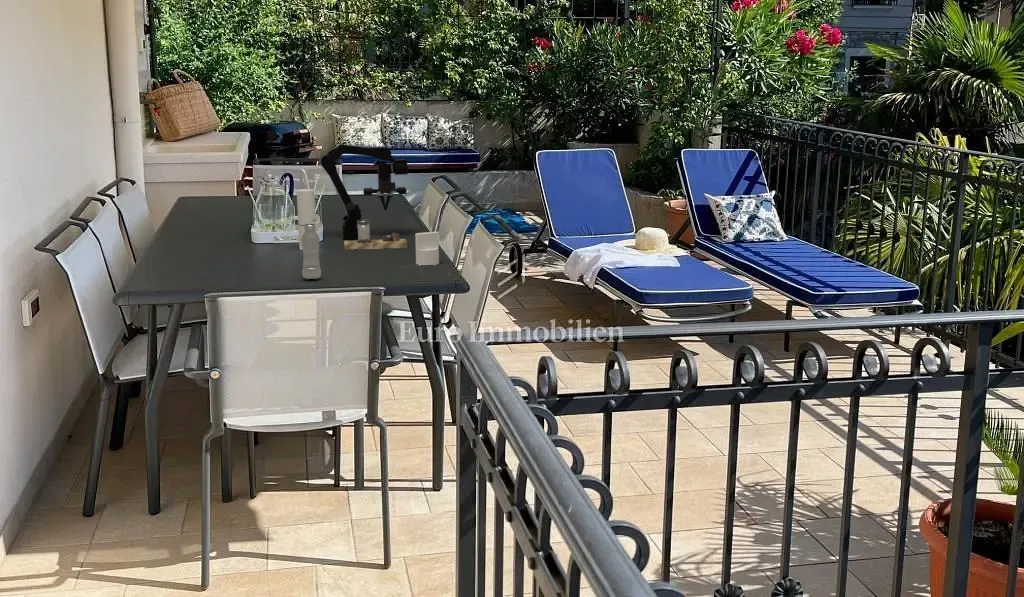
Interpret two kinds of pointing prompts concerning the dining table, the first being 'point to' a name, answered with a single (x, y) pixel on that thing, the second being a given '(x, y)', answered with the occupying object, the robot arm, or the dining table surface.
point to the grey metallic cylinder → (363, 231)
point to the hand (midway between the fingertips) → (385, 210)
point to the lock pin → (389, 237)
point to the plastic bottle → (310, 253)
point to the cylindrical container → (305, 210)
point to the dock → (376, 244)
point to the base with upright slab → (427, 248)
